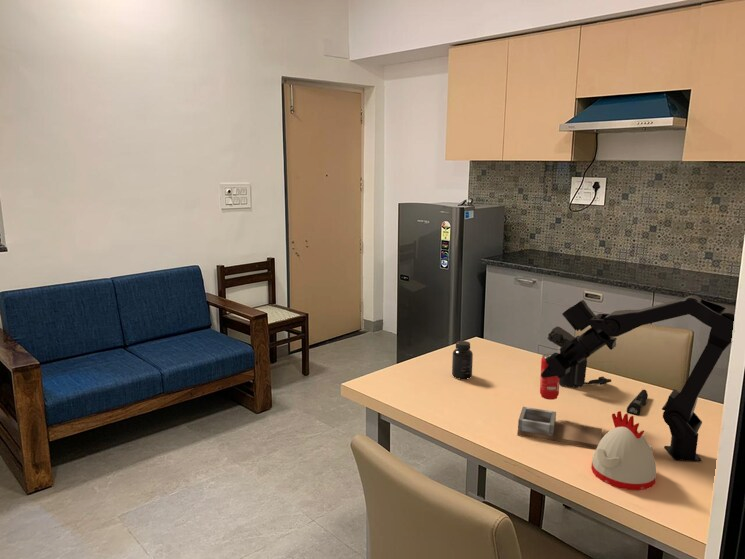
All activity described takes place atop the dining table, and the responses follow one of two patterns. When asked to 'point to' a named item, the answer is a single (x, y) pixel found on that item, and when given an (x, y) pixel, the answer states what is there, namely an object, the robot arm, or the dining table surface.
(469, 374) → the supplement bottle
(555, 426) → the socket board
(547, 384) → the beverage can
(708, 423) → the dining table surface
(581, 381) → the milk frother
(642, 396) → the electric trimmer
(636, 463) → the kitchen timer
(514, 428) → the dining table surface
